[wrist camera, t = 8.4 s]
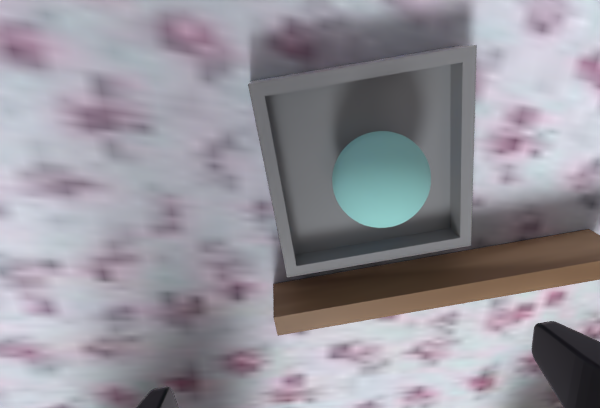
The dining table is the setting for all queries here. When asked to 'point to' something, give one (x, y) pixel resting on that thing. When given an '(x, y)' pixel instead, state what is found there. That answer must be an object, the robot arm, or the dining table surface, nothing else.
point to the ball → (381, 179)
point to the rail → (436, 281)
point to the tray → (350, 125)
